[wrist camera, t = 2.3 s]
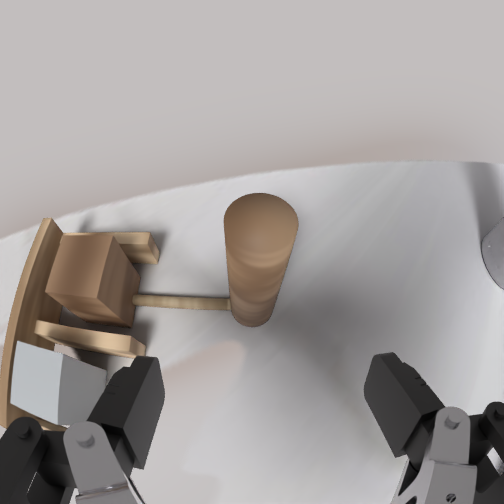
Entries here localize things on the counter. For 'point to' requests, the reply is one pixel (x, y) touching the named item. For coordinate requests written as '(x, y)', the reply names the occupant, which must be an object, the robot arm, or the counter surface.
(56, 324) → the lane shelf
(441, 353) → the counter surface
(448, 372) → the counter surface
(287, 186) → the counter surface
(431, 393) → the robot arm
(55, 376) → the grey block
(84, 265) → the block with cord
